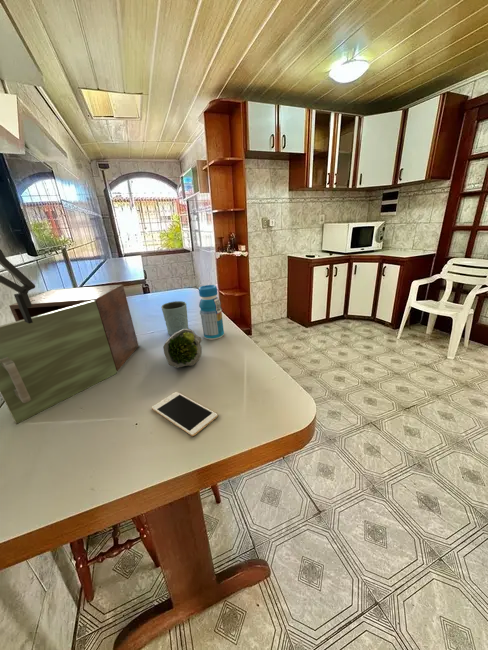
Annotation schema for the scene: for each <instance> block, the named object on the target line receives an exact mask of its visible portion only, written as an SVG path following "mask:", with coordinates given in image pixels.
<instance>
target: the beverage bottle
mask: <svg viewBox="0 0 488 650" xmlns="http://www.w3.org/2000/svg"><path fill="white" fill-rule="evenodd" d="M198 294H199V297H200V300H199V302H198V303H199V304H198V307H199V308H200V309H199V315H200V319H201V321H200V322H201V326H202V332H203V337H204V339H206V340H211V341H212V340H213V341H214V340H219V339H220V338H223V337H224V335H225V330H224V321H223V310H222V307H221V301H220V299H219V297H218V287H217V285H214V284H207V285H201V286H199V287H198Z"/></svg>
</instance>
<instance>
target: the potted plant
mask: <svg viewBox="0 0 488 650" xmlns="http://www.w3.org/2000/svg"><path fill="white" fill-rule="evenodd" d="M202 341H203V338H202V337H201V336H199V335H197V334H196V333H195V331H194V330H192V329H190V328H188V329H183V330H180V331H178V332H176V333H174V334H173V335H170V337H169V338H167V340H166V341H165V342H164V344H163V347H162V350H163V353H164V355H165V358H166V361H167V363H168V365H169V366H172V367H174V368H176V369H177V368H182V367H187V366H188V367H193V366H195V364H197V362H198V361H199V360H200V358H201V356H202V352H203V351H202V349H203V348H202V345H201V342H202Z"/></svg>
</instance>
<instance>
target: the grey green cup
mask: <svg viewBox="0 0 488 650" xmlns="http://www.w3.org/2000/svg"><path fill="white" fill-rule="evenodd" d="M161 311H162V315H163V319H164V321H165V326H166V329H167V333H168V335H170V336H172V335H173V334H174V333H176V332H178V331H180V330H183V329H189V320H188V319H189V318H188V306H187V302H186V301H183V300H175V301H170V302H166V303H164V304H162V305H161Z"/></svg>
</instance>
